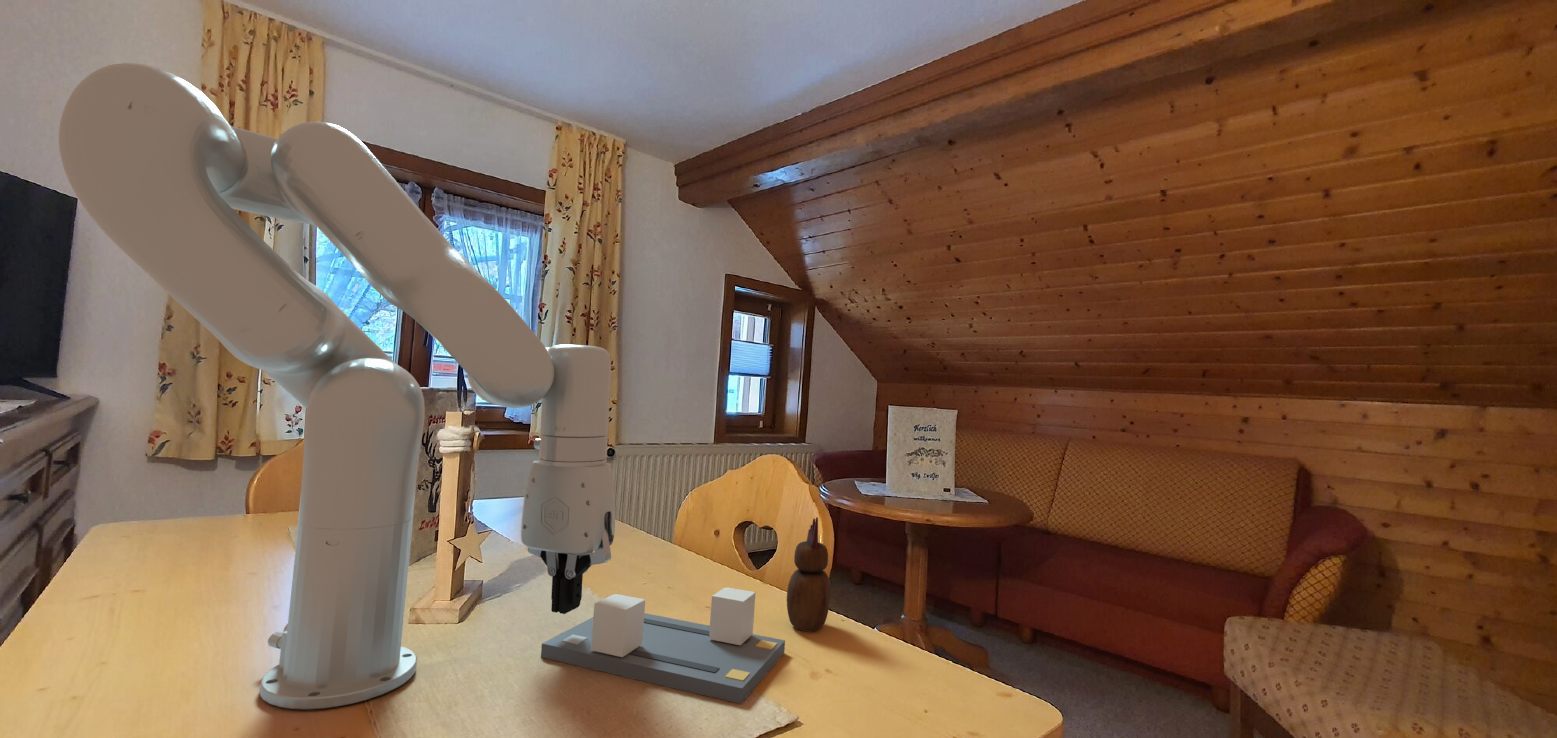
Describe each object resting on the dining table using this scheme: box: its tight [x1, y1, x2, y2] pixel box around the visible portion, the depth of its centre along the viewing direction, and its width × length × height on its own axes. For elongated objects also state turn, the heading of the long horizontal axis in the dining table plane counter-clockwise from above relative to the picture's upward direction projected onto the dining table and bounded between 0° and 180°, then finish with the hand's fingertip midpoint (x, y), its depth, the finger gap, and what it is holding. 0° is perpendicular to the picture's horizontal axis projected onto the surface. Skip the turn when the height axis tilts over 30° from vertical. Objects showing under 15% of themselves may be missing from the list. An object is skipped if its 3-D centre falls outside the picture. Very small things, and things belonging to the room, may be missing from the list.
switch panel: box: [540, 612, 786, 704], centre depth 73 cm, size 24×14×2 cm, turn 72°
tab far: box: [709, 586, 756, 645], centre depth 75 cm, size 4×4×5 cm
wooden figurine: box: [786, 516, 832, 632], centre depth 85 cm, size 7×6×15 cm
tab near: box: [591, 593, 646, 657], centre depth 70 cm, size 4×4×5 cm
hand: (565, 609), depth 73 cm, fingers closed
